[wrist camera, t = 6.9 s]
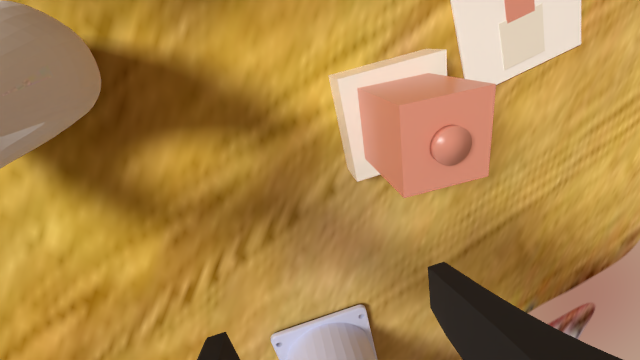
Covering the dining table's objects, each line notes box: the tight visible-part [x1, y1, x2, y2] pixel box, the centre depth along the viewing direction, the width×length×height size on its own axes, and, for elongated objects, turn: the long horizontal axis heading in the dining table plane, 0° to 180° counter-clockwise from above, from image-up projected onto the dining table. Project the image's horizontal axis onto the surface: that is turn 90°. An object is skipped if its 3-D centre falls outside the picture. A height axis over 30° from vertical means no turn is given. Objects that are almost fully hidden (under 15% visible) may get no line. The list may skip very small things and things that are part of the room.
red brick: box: [357, 73, 496, 198], centre depth 14 cm, size 4×4×5 cm
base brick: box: [328, 49, 447, 182], centre depth 18 cm, size 6×6×2 cm
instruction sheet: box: [450, 0, 581, 85], centre depth 18 cm, size 6×8×1 cm
